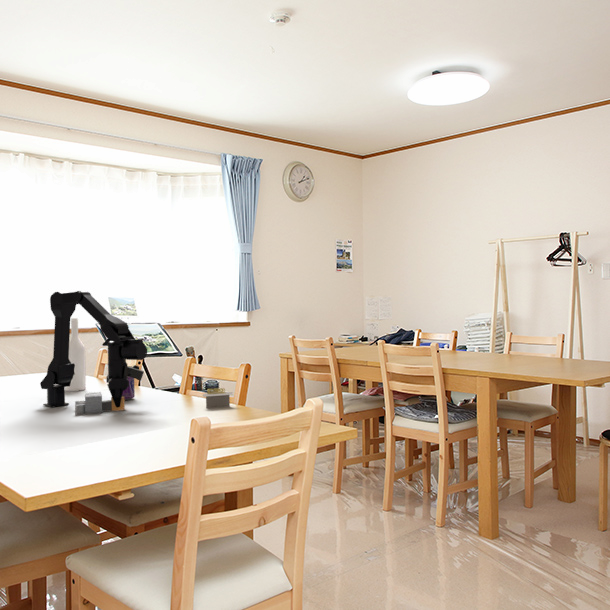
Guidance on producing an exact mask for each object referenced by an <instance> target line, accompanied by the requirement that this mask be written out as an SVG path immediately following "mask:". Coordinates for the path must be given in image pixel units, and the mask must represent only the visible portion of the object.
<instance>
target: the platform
mask: <svg viewBox="0 0 610 610" xmlns="http://www.w3.org/2000/svg"><path fill="white" fill-rule="evenodd" d="M206 391H207V392H205V393H203V394H202V397H205V404H206V405H205V408H206V409H215V408H225V407H227V408H228V407H229V408H230V403H231V402H230V398H231V397H230V396H232V395H234V393H233V392H229V391H224V388H223V387H218V388H207V390H206Z"/></svg>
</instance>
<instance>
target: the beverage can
mask: <svg viewBox="0 0 610 610" xmlns="http://www.w3.org/2000/svg"><path fill="white" fill-rule="evenodd" d="M128 366H129V367H133V366H130V365H128ZM126 379H128V381H129V387H128V388H126V389H125V390H124V391H123V394H122V396H124V401H130V400H132V399H134V398H135V396H136V395H135V378H132V377H128V378H126Z"/></svg>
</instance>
